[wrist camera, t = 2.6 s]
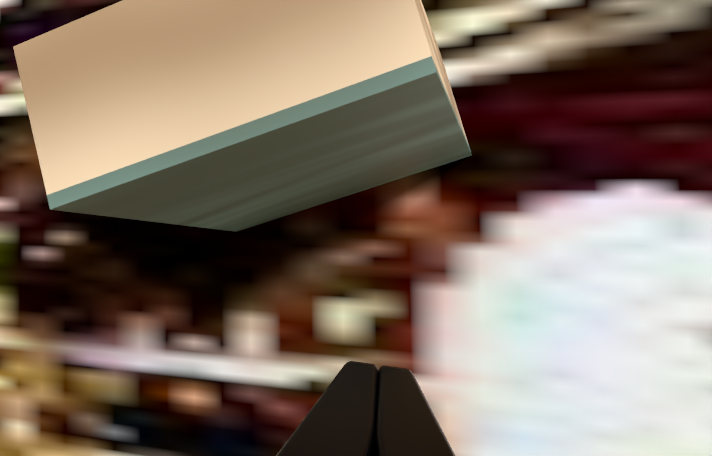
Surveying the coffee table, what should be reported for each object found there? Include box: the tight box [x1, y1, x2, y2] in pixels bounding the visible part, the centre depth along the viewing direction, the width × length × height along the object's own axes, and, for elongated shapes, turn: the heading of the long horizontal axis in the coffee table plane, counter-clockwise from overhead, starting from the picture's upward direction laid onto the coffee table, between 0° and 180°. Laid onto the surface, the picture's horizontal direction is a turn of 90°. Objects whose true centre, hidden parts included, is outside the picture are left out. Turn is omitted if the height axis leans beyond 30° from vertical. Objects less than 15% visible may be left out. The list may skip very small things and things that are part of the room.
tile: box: [13, 0, 472, 232], centre depth 17 cm, size 4×8×9 cm, turn 106°
